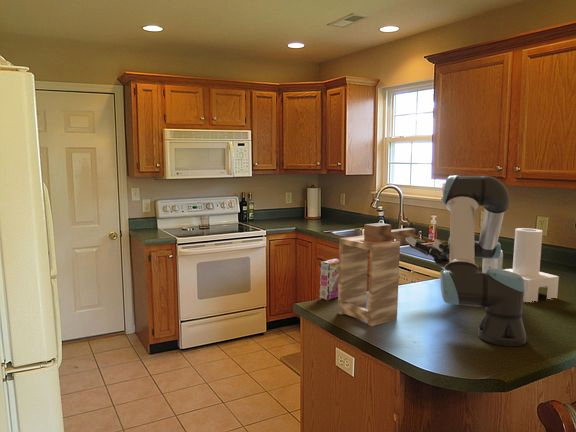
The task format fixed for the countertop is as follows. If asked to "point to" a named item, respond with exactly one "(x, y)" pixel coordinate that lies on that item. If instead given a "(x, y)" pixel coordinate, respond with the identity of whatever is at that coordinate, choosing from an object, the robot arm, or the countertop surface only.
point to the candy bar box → (329, 279)
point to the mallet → (385, 232)
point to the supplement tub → (492, 263)
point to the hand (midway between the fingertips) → (420, 239)
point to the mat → (378, 242)
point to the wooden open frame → (380, 280)
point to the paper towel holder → (532, 264)
